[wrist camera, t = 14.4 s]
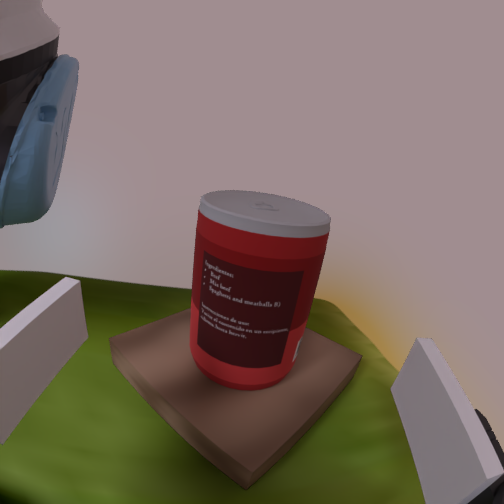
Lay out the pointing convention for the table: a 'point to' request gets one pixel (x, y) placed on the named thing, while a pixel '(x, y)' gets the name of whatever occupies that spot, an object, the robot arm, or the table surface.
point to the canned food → (253, 285)
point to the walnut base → (231, 395)
